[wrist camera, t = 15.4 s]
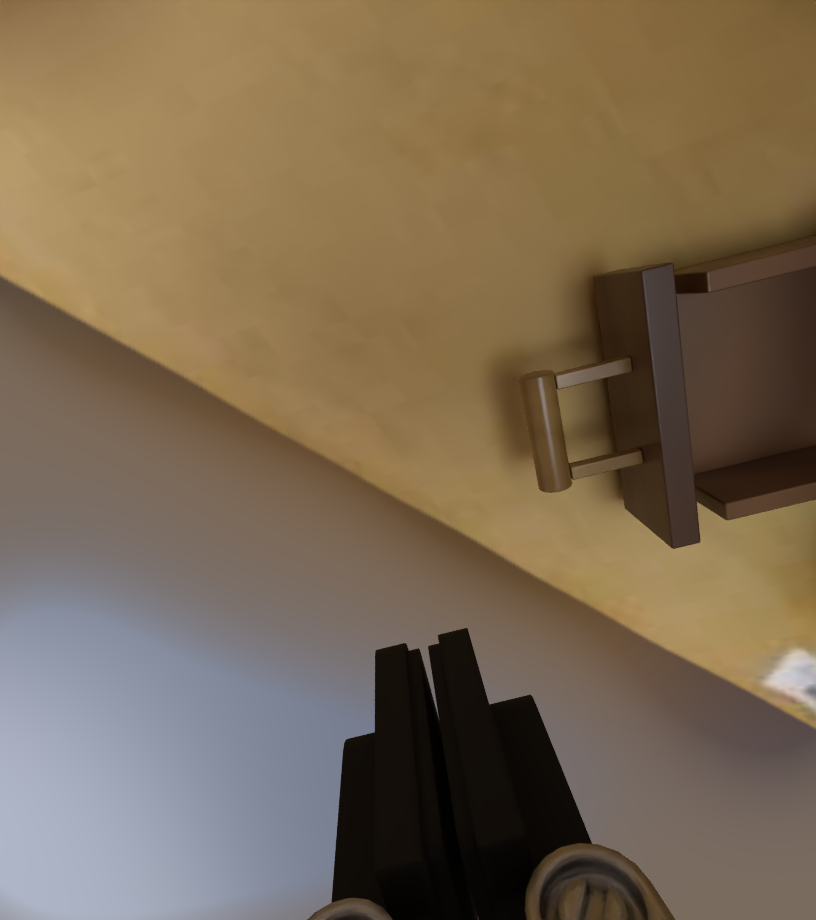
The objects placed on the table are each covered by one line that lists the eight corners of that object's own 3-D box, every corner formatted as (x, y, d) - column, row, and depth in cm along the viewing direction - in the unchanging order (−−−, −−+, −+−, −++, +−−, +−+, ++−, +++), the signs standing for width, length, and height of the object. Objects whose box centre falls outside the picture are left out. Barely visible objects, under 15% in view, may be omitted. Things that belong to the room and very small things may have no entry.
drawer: (535, 530, 27) (565, 575, 23) (492, 301, 24) (517, 301, 20) (893, 444, 27) (996, 472, 22) (895, 200, 24) (1016, 175, 19)
